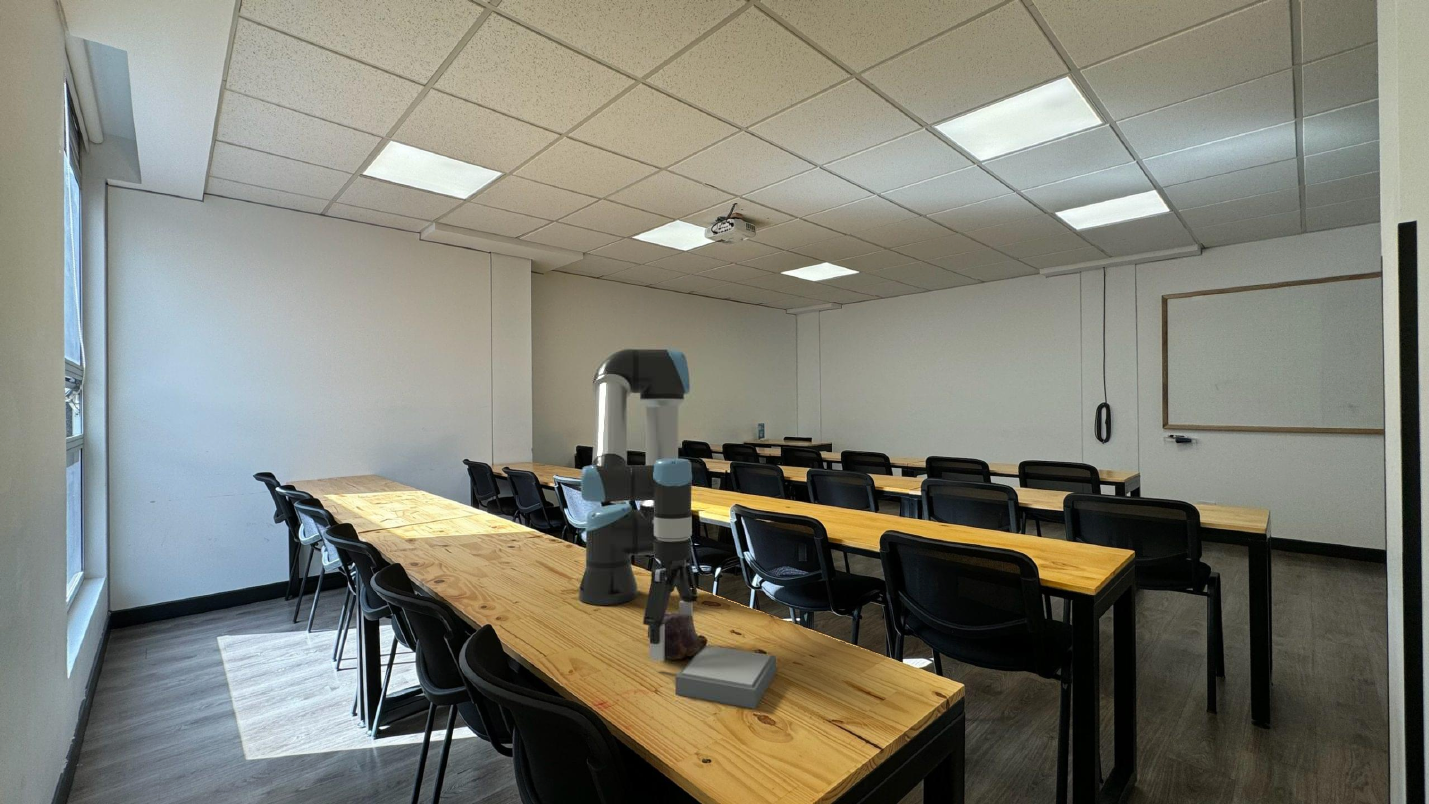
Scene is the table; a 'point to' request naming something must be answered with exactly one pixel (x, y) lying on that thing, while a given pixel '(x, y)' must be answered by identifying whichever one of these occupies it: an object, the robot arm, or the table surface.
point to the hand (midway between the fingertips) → (672, 646)
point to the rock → (680, 636)
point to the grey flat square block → (727, 676)
